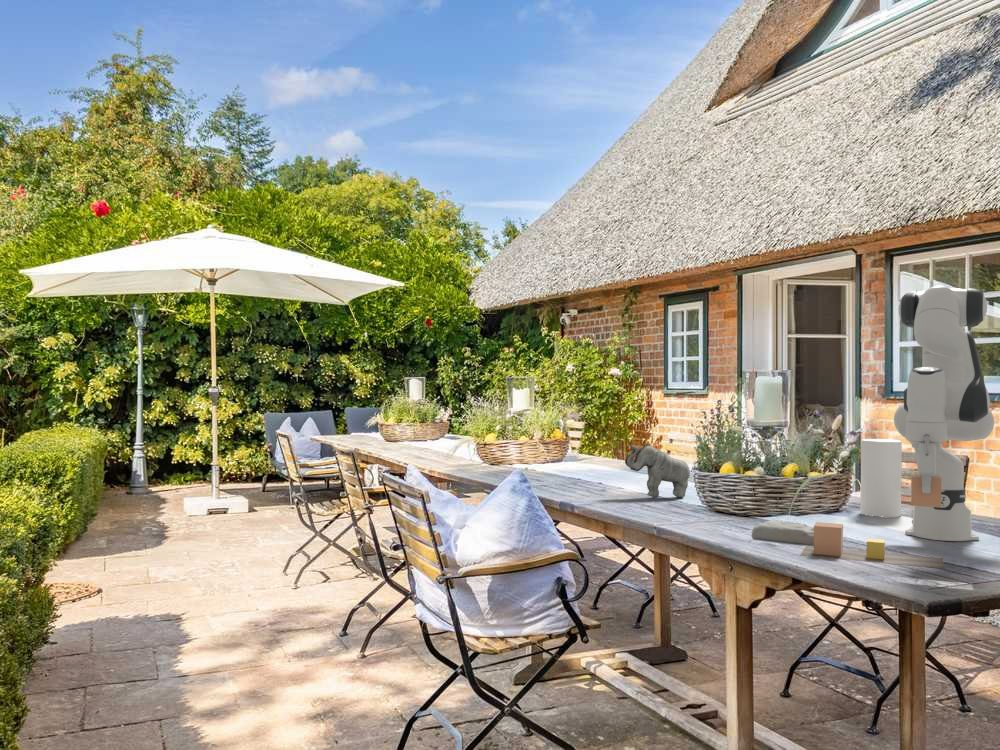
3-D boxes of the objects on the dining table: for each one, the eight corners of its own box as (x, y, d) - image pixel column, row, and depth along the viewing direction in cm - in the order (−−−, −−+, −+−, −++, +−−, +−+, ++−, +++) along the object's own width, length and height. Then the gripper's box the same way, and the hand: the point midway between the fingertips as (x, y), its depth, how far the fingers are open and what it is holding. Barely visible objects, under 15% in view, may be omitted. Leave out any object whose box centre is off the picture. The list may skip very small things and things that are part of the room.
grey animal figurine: (683, 495, 329) (684, 443, 329) (692, 499, 320) (693, 445, 320) (621, 496, 324) (621, 443, 324) (628, 500, 315) (629, 445, 315)
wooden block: (911, 502, 211) (911, 474, 211) (940, 504, 209) (940, 475, 209) (911, 505, 206) (911, 476, 206) (941, 507, 203) (941, 478, 203)
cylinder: (909, 516, 283) (910, 441, 284) (876, 518, 280) (877, 441, 281) (883, 511, 296) (884, 438, 296) (852, 512, 293) (853, 439, 293)
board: (805, 550, 225) (805, 546, 225) (942, 563, 211) (942, 558, 211) (800, 559, 213) (800, 555, 213) (944, 573, 199) (944, 568, 199)
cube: (867, 554, 214) (867, 538, 214) (884, 556, 213) (884, 540, 213) (866, 557, 211) (866, 541, 211) (884, 559, 209) (884, 542, 209)
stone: (749, 543, 236) (749, 524, 236) (765, 534, 249) (765, 516, 249) (830, 553, 225) (830, 533, 225) (842, 543, 237) (842, 525, 237)
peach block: (816, 549, 221) (816, 522, 221) (842, 551, 218) (843, 524, 218) (813, 553, 215) (813, 525, 215) (841, 556, 212) (841, 527, 212)
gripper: (942, 436, 196) (942, 497, 196) (939, 432, 215) (939, 487, 215) (912, 435, 199) (911, 495, 199) (911, 431, 218) (911, 485, 217)
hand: (925, 491), depth 207 cm, fingers closed on wooden block, 6 cm apart
